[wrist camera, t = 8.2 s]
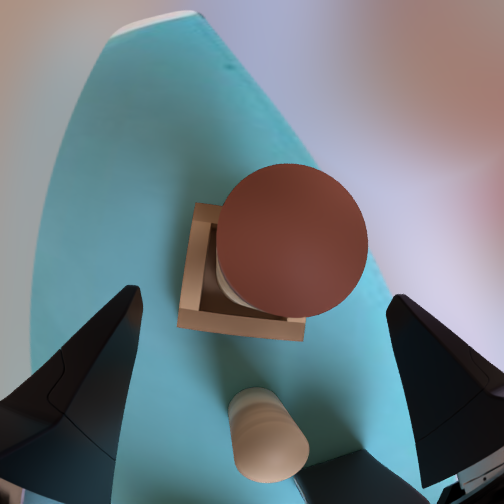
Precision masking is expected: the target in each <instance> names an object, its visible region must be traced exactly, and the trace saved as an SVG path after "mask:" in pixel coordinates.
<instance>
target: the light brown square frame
mask: <svg viewBox="0 0 504 504" xmlns="http://www.w3.org/2000/svg"><path fill="white" fill-rule="evenodd" d="M222 207H223V206H218V205H211V204H204V203H195V208H194V214H193V219H192V225H191V231H190V237H189V243H188V249H187V255H186V262H185V268H184V275H183V282H182V290H181V297H180V305H179V313H178V321H177V327H179V328H185V329H192V330H199V331H206V332H213V333H221V334H229V335H237V336H246V337H256V338H266V339H277V340H289V341H303V338H304V330H305V322H306V317H304V318H287V317H282V316H277V315H273V314H270V313H267V312H263V311H260V310H256V309H253V308H250V307H246V306H243V305H240V304H237V303H234V302H232V301H230V300H229V299H227V298H226V297H225V296H224V295H223V293H222V292H221V291H220V289H219V287H218V284H217V279H216V236H217V224H218V220H219V216H220V212H221V210H222Z"/></svg>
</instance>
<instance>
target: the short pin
mask: <svg viewBox="0 0 504 504" xmlns="http://www.w3.org/2000/svg"><path fill="white" fill-rule="evenodd" d="M228 417H229V424H230V432H231V439H232V447H233V454H234V461H235V465H236V467H237V469H238V470H239V472H240V473H241V474H242V475H244V476H245V477H246V478H248V479H250V480H253V481H256V482H261V483H273V482H279V481H282V480H285V479H287V478H289V477H291V476H293V475H294V474H296V473H297V472H298V471H299V470H300V469H301V468H302V467H303V466H304V464H305V463H306V461H307V459H308V455H309V444H308V441H307V439H306V437H305V436H304V435H303V433H302V432H301V430H300V429H299V427H298V426H297V425H296V423H295V422H294V420H293V419H292V417H291V416H290V414H289V413H288V412H287V410H286V409H285V407H284V406H283V404H282V403H281V401H280V400H279V398H278V397H277V396H276V395H275V394H274V393H273V392H272V391H270V390H268V389H265V388H261V387H251V388H247V389H244V390H242V391H240V392H239V393H237V394H236V395H235V396H234V397H233V399H232V400H231V402H230V404H229V407H228Z"/></svg>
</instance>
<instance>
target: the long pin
mask: <svg viewBox="0 0 504 504" xmlns="http://www.w3.org/2000/svg"><path fill="white" fill-rule="evenodd" d="M367 253H368V237H367V230H366V226H365V221H364V219H363V216H362V213H361V211H360V209H359V207H358V205H357V203H356V202H355V200H354V199H353V197H352V196H351V195H350V194H349V192H348V191H347V190H346V189H345V188H344V187H343V186H342V185H341V184H340V183H339V182H338V181H336V180H335V179H334V178H332V177H331V176H329V175H327V174H326V173H324V172H322V171H320V170H317V169H315V168H312V167H309V166H305V165H299V164H276V165H272V166H268V167H265V168H262V169H259V170H257V171H255V172H254V173H252V174H250V175H248V176H247V177H246V178H244V179H243V180H242V181H241V182H240V183H239V184H238V185H237V186H236V187H235V188H234V189H233V190H232V192H231V193H230V194H229V196H228V197H227V199H226V201H225V203H224V205H223V207H222V210H221V212H220V216H219V220H218V224H217V236H216V279H217V284H218V287H219V289H220V291H221V292H222V293H223V295H224V296H225V297H226V298H227V299H229V300H230V301H232V302H234V303H237V304H240V305H243V306H246V307H250V308H253V309H256V310H260V311H263V312H267V313H270V314H273V315H277V316H282V317H287V318H304V317H311V316H315V315H319V314H321V313H324V312H326V311H328V310H330V309H332V308H334V307H335V306H337V305H338V304H340V303H341V302H342V301H343V300H344V299H345V298H346V297H347V296H348V295H349V294H350V293H351V292H352V291H353V289H354V288H355V287H356V285H357V283H358V282H359V280H360V278H361V276H362V273H363V271H364V268H365V264H366V260H367Z"/></svg>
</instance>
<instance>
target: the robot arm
mask: <svg viewBox="0 0 504 504" xmlns="http://www.w3.org/2000/svg"><path fill="white" fill-rule="evenodd" d="M142 313H143V302H142V297H141V291H140V288H139V286H136V285H127V286H125V287H124V288H123V289H122V290H121V291H120V292H119V293H118V294H116V295H115V296H114V297H113V298H112V299H111V300H110V301H109V302H108V303H107V304H106V305H105V306H104V307H102V308H101V309H100V310H99V311H98V312H97V313H96V314H95V315H94V316H93V317H92V318H91V319H90V320H89V321H88V322H87V323H86V324H85V325H84V326H83V327H81V328H80V329H79V330H78V331H77V332H76V333H75V334H74V335H73V336H72V337H71V338H70V339H69V340H68V341H67V342H66V343H65V344H64V345H63V346H62V347H61V349H59V350H58V351H57V352H56V353H55V354H54V355H53V356H52V357H51V358H50V359H49V360H48V361H47V362H46V363H45V364H44V365H43V366H42V367H41V368H40V369H38V370H37V371H36V372H35V373H34V374H33V375H32V376H31V377H29V378H28V379H27V380H26V381H25V382H23V383H22V384H21V385H20V386H19V387H18V388H17V389H15V390H14V391H13V392H12V393H11V394H10V395H8V396H7V397H6V398H4V399H3V400H1V401H0V504H111V494H112V485H113V477H114V469H115V460H116V454H117V448H118V442H119V436H120V430H121V424H122V419H123V414H124V409H125V404H126V399H127V394H128V389H129V384H130V380H131V376H132V371H133V367H134V363H135V358H136V354H137V349H138V342H139V334H140V327H141V320H142ZM386 318H387V323H388V328H389V333H390V338H391V343H392V348H393V352H394V356H395V359H396V363H397V366H398V370H399V374H400V378H401V381H402V385H403V389H404V393H405V397H406V402H407V406H408V410H409V415H410V419H411V424H412V429H413V434H414V439H415V445H416V451H417V457H418V463H419V470H420V477H421V484H422V488H423V489H424V488H427V487H429V486H431V485H434V484H436V483H438V482H440V481H443V480H445V479H447V478H449V477H451V476H453V475H455V474H457V477H458V481H457V482H455V483H453V484H451V485H449V486H447V487H445V488H444V489H443V491H442V493H441V496H440V498H439V500H438V502H437V504H504V373H503V372H502V371H501V370H499V369H498V368H497V367H495V366H494V365H493V364H491V363H490V362H489V361H487V360H486V359H485V358H484V357H482V356H481V355H480V354H479V353H477V352H476V351H475V350H474V349H473V348H472V347H470V346H468V344H467V343H466V342H464V341H463V340H462V339H461V338H459V337H458V336H457V335H456V334H455V333H453V332H452V331H451V330H450V329H448V328H447V327H446V326H445V325H444V324H442V323H441V322H440V321H438V320H437V319H436V318H435V317H433V316H432V315H431V314H430V313H428V312H427V311H426V310H424V309H423V308H422V307H420V306H419V305H418V304H417V303H416V302H414V301H413V300H412V299H410V298H409V297H408V296H406V295H404V294H397V295H395V296H394V297H393V299H392V301H391V302H390V304H389V306H388V308H387V310H386Z"/></svg>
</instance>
